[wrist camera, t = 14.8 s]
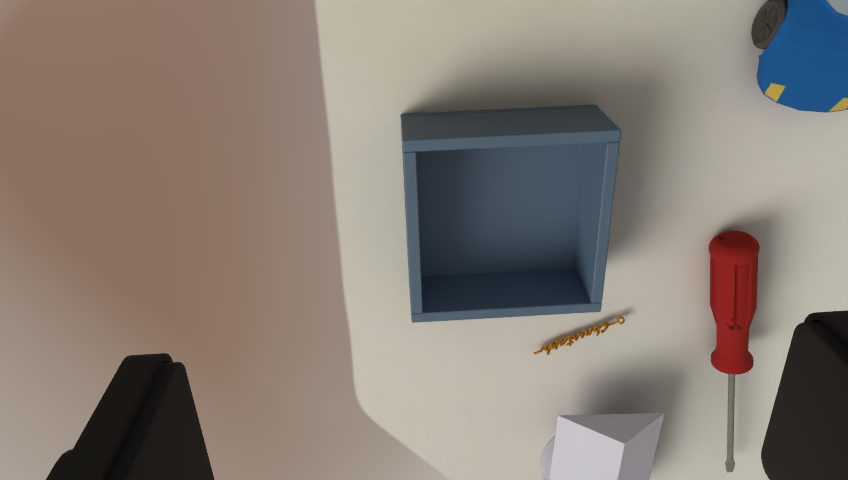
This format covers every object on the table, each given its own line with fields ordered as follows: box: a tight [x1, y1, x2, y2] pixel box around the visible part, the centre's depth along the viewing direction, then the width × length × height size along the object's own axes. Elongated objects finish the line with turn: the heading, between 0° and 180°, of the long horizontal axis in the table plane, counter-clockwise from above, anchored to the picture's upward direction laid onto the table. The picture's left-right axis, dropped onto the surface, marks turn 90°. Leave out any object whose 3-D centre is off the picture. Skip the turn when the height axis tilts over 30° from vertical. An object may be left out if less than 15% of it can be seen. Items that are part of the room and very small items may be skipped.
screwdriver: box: [709, 231, 760, 472], centre depth 55 cm, size 4×25×4 cm, turn 12°
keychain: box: [534, 316, 625, 355], centre depth 54 cm, size 8×1×1 cm, turn 114°
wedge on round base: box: [540, 413, 665, 480], centre depth 58 cm, size 9×7×13 cm
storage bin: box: [401, 105, 621, 323], centre depth 46 cm, size 14×14×6 cm
